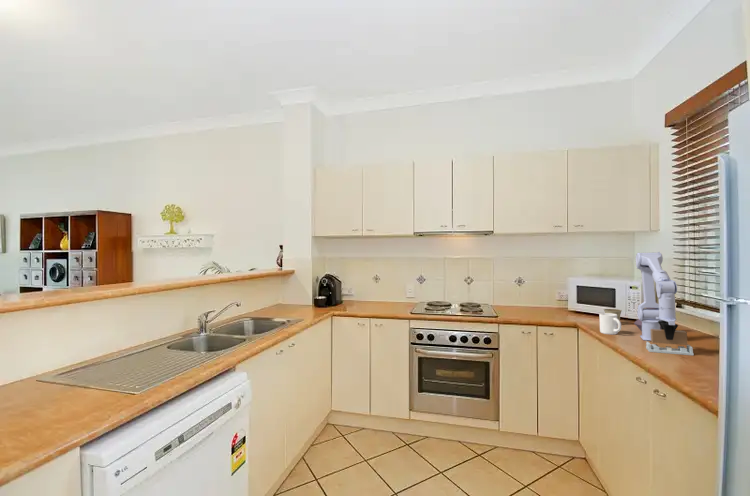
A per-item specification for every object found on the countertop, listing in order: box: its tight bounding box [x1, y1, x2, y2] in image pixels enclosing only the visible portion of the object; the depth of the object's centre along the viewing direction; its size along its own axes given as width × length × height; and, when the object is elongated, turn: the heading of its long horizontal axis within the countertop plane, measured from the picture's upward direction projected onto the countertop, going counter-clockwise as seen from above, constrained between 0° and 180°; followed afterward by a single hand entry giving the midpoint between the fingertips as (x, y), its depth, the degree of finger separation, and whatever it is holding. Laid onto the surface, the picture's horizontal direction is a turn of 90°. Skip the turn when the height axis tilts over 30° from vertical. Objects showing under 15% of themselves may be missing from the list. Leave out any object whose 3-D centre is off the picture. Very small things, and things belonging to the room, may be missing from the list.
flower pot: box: [603, 308, 623, 322], centre depth 219 cm, size 9×9×9 cm
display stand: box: [645, 341, 694, 356], centre depth 158 cm, size 7×15×3 cm, turn 62°
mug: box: [598, 312, 622, 336], centre depth 194 cm, size 12×8×10 cm
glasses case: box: [651, 329, 688, 346], centre depth 158 cm, size 4×12×6 cm, turn 63°
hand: (668, 338), depth 158 cm, fingers closed on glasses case, 4 cm apart
